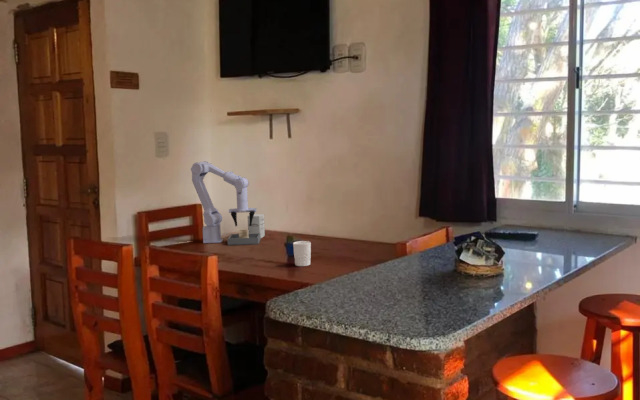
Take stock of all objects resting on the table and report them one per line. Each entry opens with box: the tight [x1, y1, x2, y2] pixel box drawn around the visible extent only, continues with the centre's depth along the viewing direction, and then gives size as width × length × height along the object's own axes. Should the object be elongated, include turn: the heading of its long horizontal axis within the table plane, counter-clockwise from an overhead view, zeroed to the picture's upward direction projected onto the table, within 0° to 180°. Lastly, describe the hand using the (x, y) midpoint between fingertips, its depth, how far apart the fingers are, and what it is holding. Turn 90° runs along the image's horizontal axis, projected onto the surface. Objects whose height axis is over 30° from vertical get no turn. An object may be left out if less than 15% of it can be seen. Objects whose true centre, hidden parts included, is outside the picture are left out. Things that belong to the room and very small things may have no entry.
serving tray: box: [227, 233, 262, 246], centre depth 350 cm, size 16×14×4 cm
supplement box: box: [247, 213, 266, 239], centre depth 364 cm, size 7×7×13 cm
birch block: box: [238, 229, 249, 238], centre depth 348 cm, size 4×4×6 cm
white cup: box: [292, 240, 312, 267], centre depth 290 cm, size 8×8×10 cm
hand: (243, 225), depth 348 cm, fingers open, 7 cm apart
